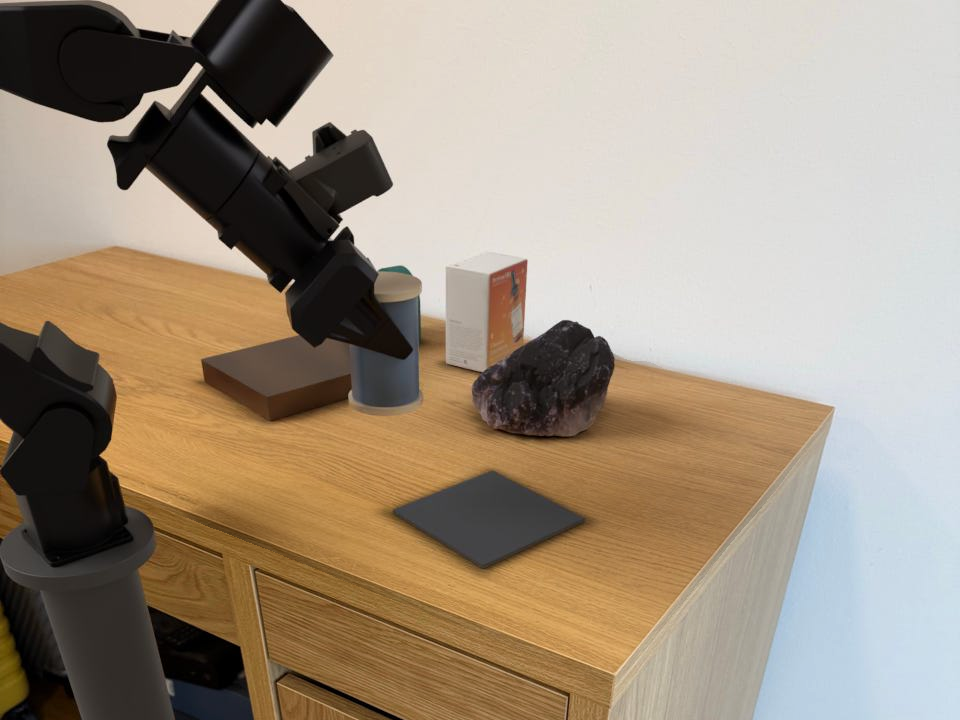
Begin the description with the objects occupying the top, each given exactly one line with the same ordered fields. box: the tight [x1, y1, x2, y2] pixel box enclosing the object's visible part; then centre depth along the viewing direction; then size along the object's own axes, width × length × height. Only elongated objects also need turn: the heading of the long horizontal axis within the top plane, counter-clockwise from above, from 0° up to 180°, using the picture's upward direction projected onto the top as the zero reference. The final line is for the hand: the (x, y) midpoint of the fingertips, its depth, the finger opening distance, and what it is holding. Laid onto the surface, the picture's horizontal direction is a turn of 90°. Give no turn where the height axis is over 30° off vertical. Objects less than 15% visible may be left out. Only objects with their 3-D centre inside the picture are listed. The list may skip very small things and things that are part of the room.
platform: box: [200, 334, 352, 422], centre depth 95 cm, size 15×13×2 cm
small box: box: [445, 250, 529, 373], centre depth 99 cm, size 8×6×10 cm
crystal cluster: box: [471, 319, 616, 437], centre depth 88 cm, size 13×14×10 cm
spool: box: [347, 270, 424, 417], centre depth 68 cm, size 6×6×9 cm
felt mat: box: [392, 470, 586, 570], centre depth 74 cm, size 11×11×1 cm
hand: (401, 342), depth 69 cm, fingers closed on spool, 5 cm apart
